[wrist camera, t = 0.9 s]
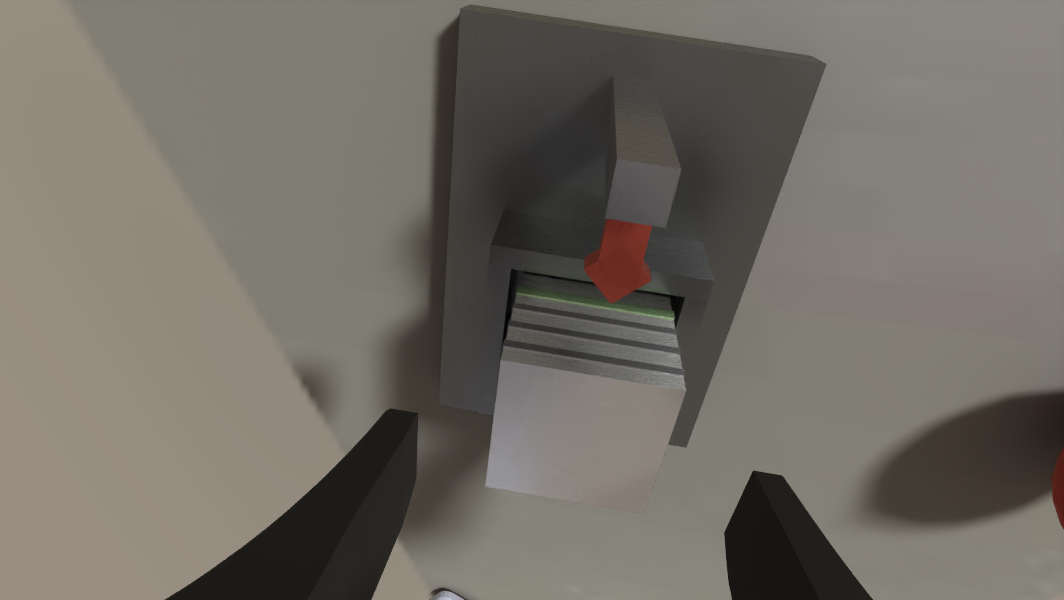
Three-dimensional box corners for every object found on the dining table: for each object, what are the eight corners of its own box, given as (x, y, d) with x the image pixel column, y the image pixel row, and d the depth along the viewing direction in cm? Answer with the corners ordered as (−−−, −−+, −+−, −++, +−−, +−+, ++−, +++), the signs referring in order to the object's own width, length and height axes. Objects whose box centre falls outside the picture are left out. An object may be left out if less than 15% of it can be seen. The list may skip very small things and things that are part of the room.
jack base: (682, 424, 22) (716, 638, 15) (446, 384, 22) (375, 577, 16) (811, 56, 15) (976, 145, 8) (469, 4, 16) (361, 51, 9)
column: (635, 372, 19) (644, 515, 15) (514, 353, 20) (483, 486, 15) (665, 265, 17) (688, 390, 12) (529, 243, 17) (499, 358, 13)
